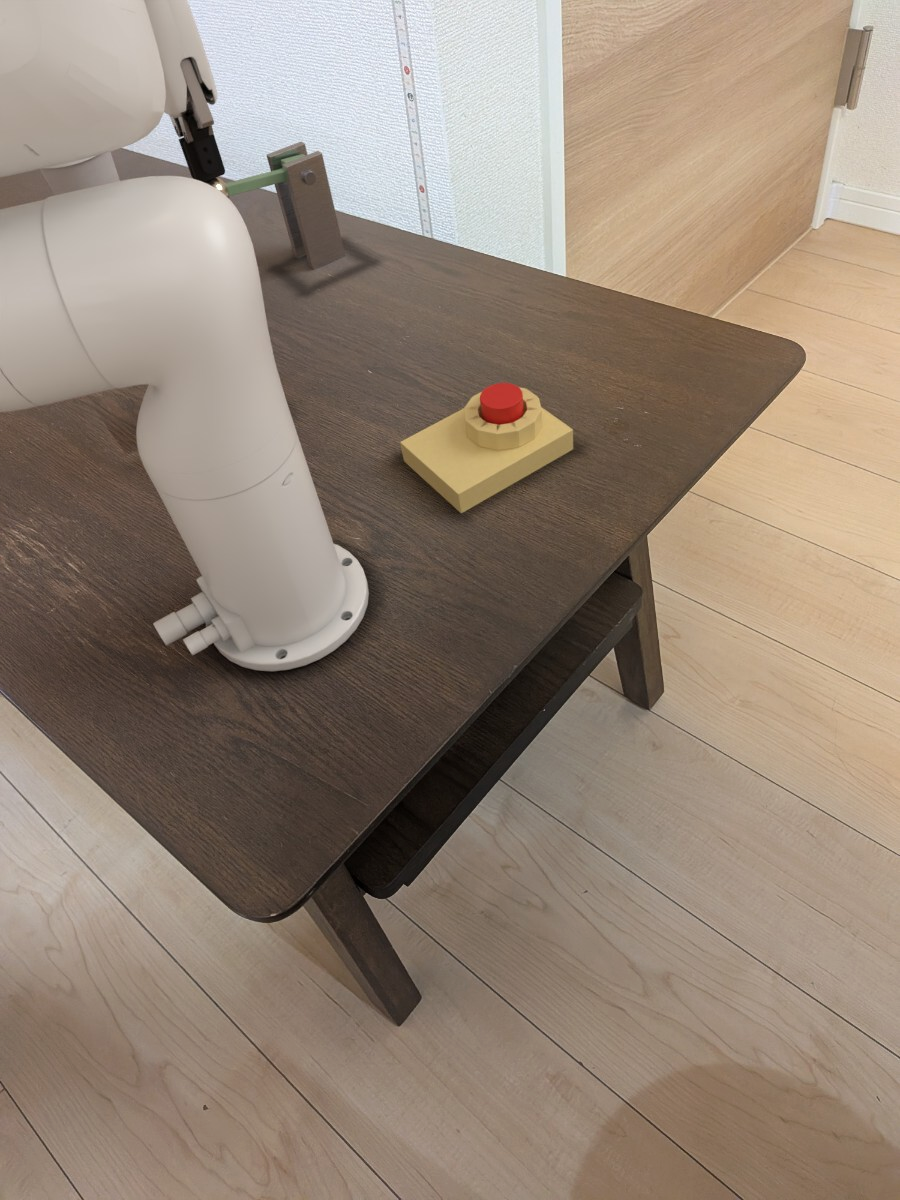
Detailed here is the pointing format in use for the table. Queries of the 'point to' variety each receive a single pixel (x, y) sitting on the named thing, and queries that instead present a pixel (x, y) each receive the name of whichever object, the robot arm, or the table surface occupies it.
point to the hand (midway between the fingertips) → (209, 176)
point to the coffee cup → (81, 174)
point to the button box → (485, 451)
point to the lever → (252, 180)
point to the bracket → (308, 206)
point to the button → (501, 403)
